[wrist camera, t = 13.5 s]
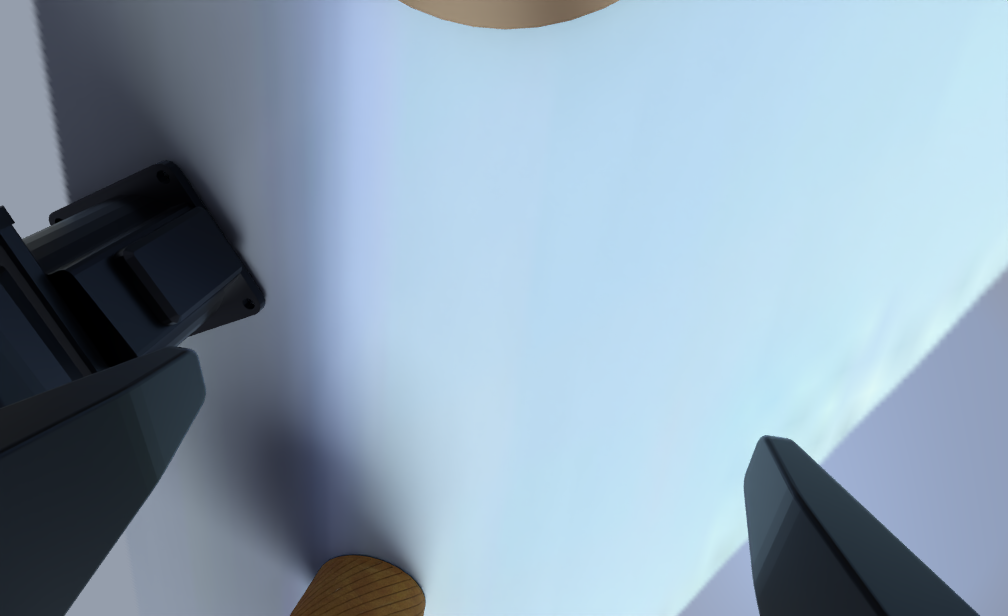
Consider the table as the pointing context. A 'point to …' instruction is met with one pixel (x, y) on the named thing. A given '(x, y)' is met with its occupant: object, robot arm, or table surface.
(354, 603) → the disposable coffee cup
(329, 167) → the table surface
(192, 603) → the table surface
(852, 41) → the table surface
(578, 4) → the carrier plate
